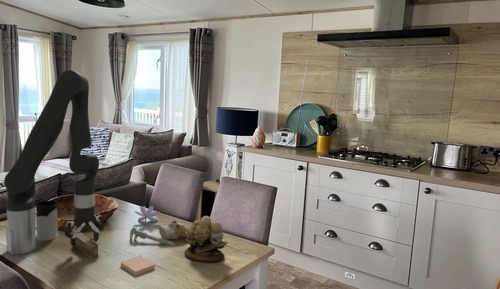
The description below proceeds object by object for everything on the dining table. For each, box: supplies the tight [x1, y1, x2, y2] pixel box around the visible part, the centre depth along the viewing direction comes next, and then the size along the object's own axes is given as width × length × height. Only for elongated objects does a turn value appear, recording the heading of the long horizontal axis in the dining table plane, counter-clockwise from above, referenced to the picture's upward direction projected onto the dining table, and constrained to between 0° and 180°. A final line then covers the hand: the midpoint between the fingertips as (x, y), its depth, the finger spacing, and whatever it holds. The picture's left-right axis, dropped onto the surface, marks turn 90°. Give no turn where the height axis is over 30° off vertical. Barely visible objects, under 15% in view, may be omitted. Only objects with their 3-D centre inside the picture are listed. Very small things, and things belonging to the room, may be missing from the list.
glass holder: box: [35, 200, 60, 242], centre depth 160 cm, size 9×14×15 cm, turn 89°
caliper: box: [129, 226, 176, 247], centre depth 160 cm, size 21×1×6 cm, turn 80°
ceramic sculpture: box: [158, 220, 189, 241], centre depth 165 cm, size 11×9×15 cm
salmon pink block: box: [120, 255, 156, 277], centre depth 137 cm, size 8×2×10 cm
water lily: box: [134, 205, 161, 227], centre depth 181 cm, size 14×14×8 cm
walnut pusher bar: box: [75, 232, 99, 259], centre depth 149 cm, size 3×16×5 cm, turn 47°
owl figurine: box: [183, 215, 228, 264], centre depth 149 cm, size 18×12×17 cm, turn 72°
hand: (84, 243), depth 148 cm, fingers open, 8 cm apart
